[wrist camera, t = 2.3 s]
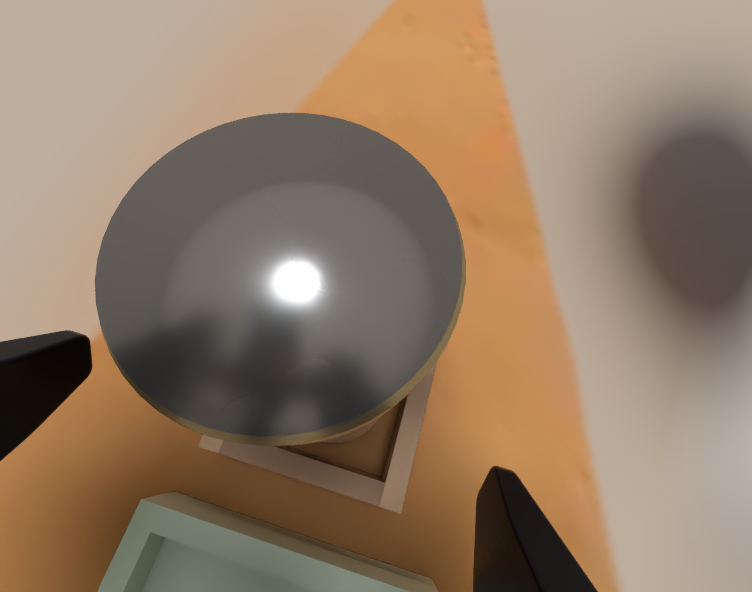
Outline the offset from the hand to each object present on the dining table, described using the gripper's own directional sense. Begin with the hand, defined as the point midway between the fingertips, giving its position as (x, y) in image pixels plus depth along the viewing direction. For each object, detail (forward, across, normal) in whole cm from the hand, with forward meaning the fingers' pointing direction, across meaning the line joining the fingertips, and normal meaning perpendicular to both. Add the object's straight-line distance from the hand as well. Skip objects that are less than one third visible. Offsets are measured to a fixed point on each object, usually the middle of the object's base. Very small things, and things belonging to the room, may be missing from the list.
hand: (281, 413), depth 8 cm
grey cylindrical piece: (+8, 0, +5) cm, 10 cm away
